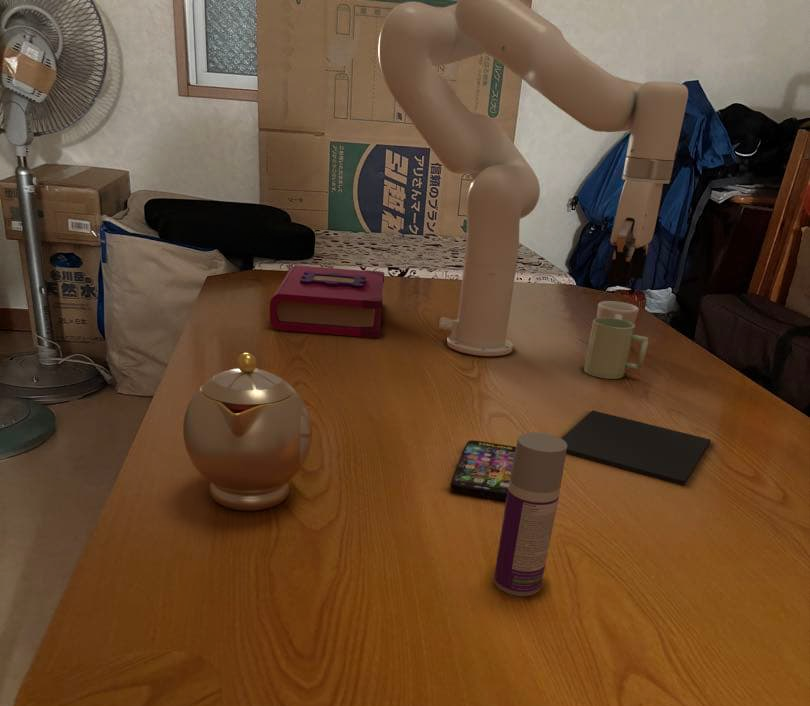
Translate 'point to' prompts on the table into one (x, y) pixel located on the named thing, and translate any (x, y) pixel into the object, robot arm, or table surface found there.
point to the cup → (617, 311)
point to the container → (529, 513)
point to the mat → (636, 446)
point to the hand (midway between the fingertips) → (625, 281)
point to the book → (329, 302)
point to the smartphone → (484, 470)
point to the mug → (612, 348)
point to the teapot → (247, 435)
